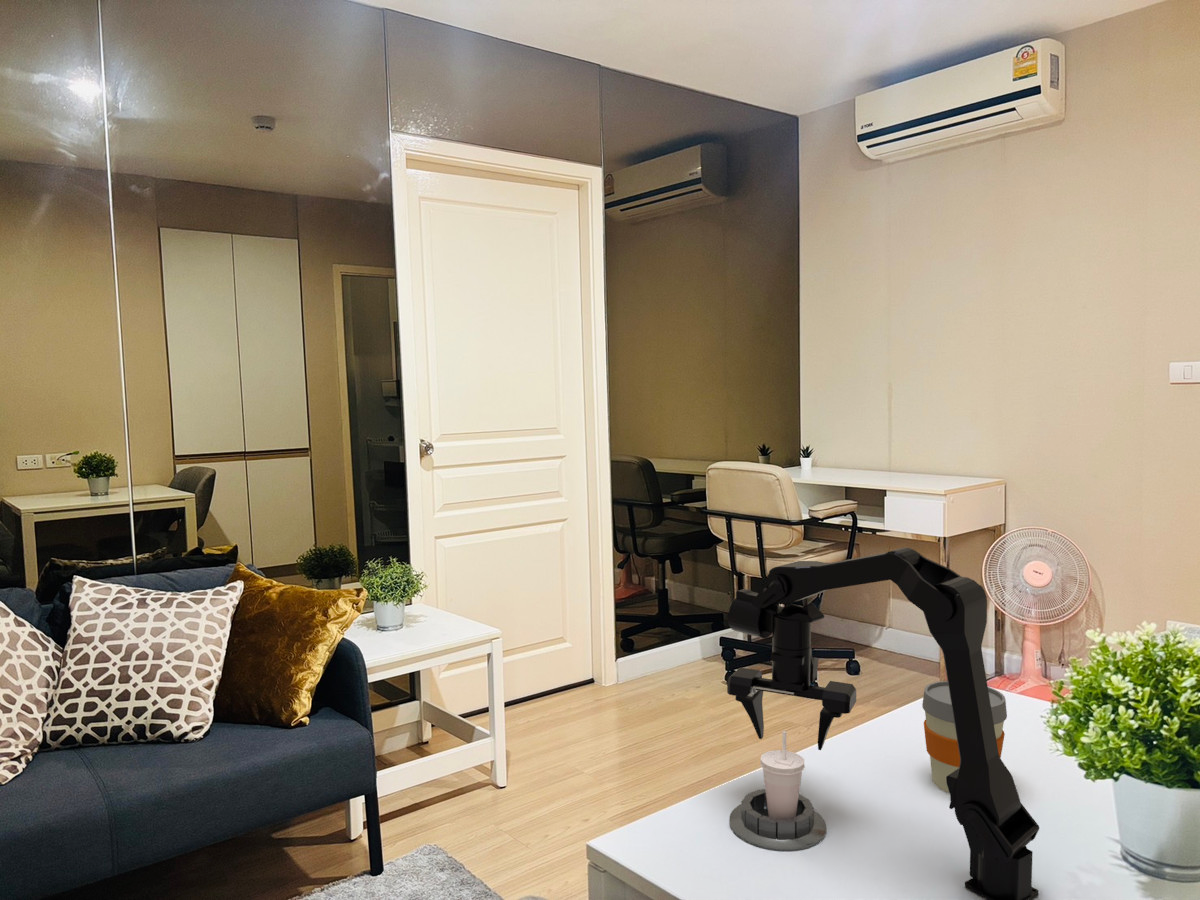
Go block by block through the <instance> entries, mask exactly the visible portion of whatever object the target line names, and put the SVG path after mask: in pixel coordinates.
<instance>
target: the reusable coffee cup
mask: <svg viewBox="0 0 1200 900" xmlns="http://www.w3.org/2000/svg"><path fill="white" fill-rule="evenodd" d="M988 692H989V698H990V704H991V710H992V716H993V722H994V729H995V735H996V741H997V747H998V753H999V756H1000V759H1001V757H1002V753H1003V747H1004V741H1005V731H1004V730H1003V729H1004V722H1005V720H1007V718H1008V713H1007V712H1008V711H1007V702H1006V697H1005V695H1004V694H1003V693H1002V692H1000V691H999V690H997V689H994V688H992V687H990V686H988ZM922 709H923V711H924V713H925V714H924V715H925V719H924V721H923V729H924V738H925V746H926V752H927V753H928V755H929V759H930V768H931V777H932V783H933V782H934V783H933V784H934V785H935V787H937V788H938V789H940V790H942V791H943V792H946V793H948V794H950V793H949V790H948V786H947V781H946V777H947V776H948V775H949V774H951V773H952V772H954V771H955V770H957V769H958V768H959V765H960V754H959V748H958V742H957V736H956V730H955V723H954V717H953V711H952V705H951V699H950V692H949V686H948V680H940V681H936V682H931V683H929V684H927V685H925V687H924V690H923V698H922ZM1001 760H1002V759H1001Z"/></svg>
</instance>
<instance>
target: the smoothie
mask: <svg viewBox="0 0 1200 900" xmlns="http://www.w3.org/2000/svg"><path fill="white" fill-rule="evenodd" d="M760 767H761V768H762V773H763V782H764V787H765V788H764V789H765V791H766V799H767V807H768V815H769V817H772V818H776V819H784V818H793V817H796V812H797V804H798V797H799V794H800V791H801V790H800V788H801V781H802V775H803V771H805V767H806V766H805V759H804V758H803V756H801V755H800V754H798V753H796V752H793V751H789V750H787V731H786V730H783V731H782V749H776V750H769V751H765V752H764V753H762V754H761V756H760Z"/></svg>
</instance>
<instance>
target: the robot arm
mask: <svg viewBox="0 0 1200 900" xmlns="http://www.w3.org/2000/svg"><path fill="white" fill-rule="evenodd" d="M884 581H891V582H893V583H894V584H895V585H896V586H897V587H898V588H899V590H900V591H901V592H902V594H903V595H904V597H905V598H906V599H907V600H908V601H909V602H910V603H911V604H912V605H914V606H915V607H917V608H919V610H920V611H922V612H923V615H924V619H925V621H926V624H927V628H928V631H929V633H930V635H931V636H932V637H933V639H934V640H935V642H936V643H937V644H938V646H939V648H940V649H941V651H942V654H943V660H944V665H945V673H946V678H947V680H946V681H948V686H949V692H950V699H951V705H952V711H953V717H954V723H955V730H956V736H957V742H958V748H959V754H960V765H959V768H958V769H957V770H955V771H954V772H952V773H951V774H949V775H948V776H947V777H946V781H947V786H948V790H949V793H948V794H949V797H950V801H949V810H953V809H954V814H955V819H956V820H957V822H958V824H959V825H960V826H962V828H963V830H964V833H965V837H966V838H965V839H966V840H967V843H968V846H969V876H970V879H968V880H966V881H964V887H965V888H966V889H967V890H970V891H971V892H973V893H975V894H977V895H979V896H981V897H982V898H984V899H987V900H1032V899H1035V898H1036V897H1038V896H1039V890H1038V889H1036V888H1035V887H1033V886H1032V885H1033V884H1032V883H1033V882H1032V879H1033V850H1030V849H1028V846H1027V845H1028V844H1030V843H1031V841H1034V840H1035V839H1036V836H1037V835H1038V832H1039V831H1040V826H1039V824H1038V823H1037V822H1036V820H1035V819H1034V818H1033V816H1032V815H1031V814H1030V813H1029V811H1028V810H1027V809H1026V807H1025V806H1024V804H1022V802H1021V799H1020V796H1019V793H1018V789H1017V786H1016V783H1015V780H1014V777H1013V775H1012V774H1011V772H1010V770H1009V769H1008V768H1007V766H1006V765H1005V763H1004V761H1002V759H1000V756H999V753H998V747H997V741H996V735H995V729H994V722H993V716H992V710H991V704H990V698H989V692H988V687H989V686H988V680H987V675H986V674H987V673H986V669H985V663H984V657H983V651H982V650H983V649H982V645H983V641H984V636H985V632H986V629H987V628H986V627H987V623H988V622H987V621H988V596H987V594H986V591H985V589H984V587H983V586H982V585H981V584H979V583H978V582H977V581H975V580H974V579H971V578H969V577H967V576H961V575H960V574H958V573H957V572H956V571H954V570H953V569H951V568H949V567H947V566H945V565H942V564H940V563H938V562H936V561H934V560H932V559H929V558H927V557H925V556H924V555H922V554H921V553H920V552H918V551H916V550H915V549H913V548H911V547H900V548H898V549H894V550H890V551H888V552H883V553H877V554H872V555H866V556H860V557H856V558H851V559H850V558H849V559H845V560H839V561H833V562H822V561H818V560H798V561H794V562H789V563H786V564H781V565H778V566H775V567H772V568H770V570H769V571H768V574H767V577H766V582H765V584H764V586H762V588H761V590H760V591H759V592H756V591H755V592H754V591H752V590H750V589H746V588H743V589H740V590H736V591H735V598H734V599H733V601H732V603H731V604H730V607H729V608H728V609H729V610H728V611H727V623H728V626H729V627H730V629H731V630H733V631H736V632H738V633H742V634H745V635H750V636H753V637H757V638H761V639H766V638H768V637H770V636H771V635H772V649H771V651H772V652H771V653H770V661H771V665H772V666H771V668H772V669H771V678H765V677H763V674H762V671H761V669H755V668H754V669H753V668H748V667H741V666H740V667H739V668H738V669H736V670H735V671H734V672H733V674H731V675H730V676H729V677H728V679H727V683H726V685H727V687H726V689H727V690H726V693H727V694H728V695H729V696H735V702H736V701H737V702H740V703H741V704H742V706H743V708H744V710H745V712H746V713H747V715H748V718H749V719H750V722H751V723H752V726H753V728H754V730H755V732H756V734H757V737H758V739H759V740H762V739H764V731H765V729H764V728H765V725H764V710H763V709H764V707H763V697H764V692H767V693H773V694H779V695H785V696H787V695H788V696H792V697H799V698H804V699H811V700H816V701H821V706H823V707H822V708H821V710H820V712H819V720H818V721H819V722H818V730H817V731H818V732H817V733H818V734H817V750H818V751H822V749H823V747H824V744H825V743H826V742H825V741H826V739H827V736H828V732H829V731H830V727H831V726H832V722H833V720H834V718H835V719H839V718H841V717H842V715H843V714H844V715H847V714H851V711H852V709H853V708H854V706H855V704H856V703H857V688H856V687H855V686H854V684H853V683H848V682H842V681H841V682H840V681H833V680H829V682H828V683H827V685H826V686H825V687H822V686H816V685H811V683H814V682H815V680H816V679H817V678H818V666H819V658H818V657H815V656H813V650H812V647H811V646H812V643H811V641H812V640H811V639H812V637H811V636H812V623H814V622H817V621H820V620H823V619H824V618H825V614H824V613H823V612H822V611H821V610H820V609H818V608H817V607H816V604H815V603H813V602H811V603H807V604H804V605H798V604H793V603H796V602H799V601H801V600H805V599H808V598H811V597H814V596H816V595H818V594H821V593H824V592H827V591H829V590H835V589H840V588H846V587H852V586H853V587H854V586H858V585H866V584H870V583H871V584H872V583H879V582H884ZM781 605H785V606H781Z"/></svg>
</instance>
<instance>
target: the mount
mask: <svg viewBox="0 0 1200 900" xmlns="http://www.w3.org/2000/svg"><path fill="white" fill-rule="evenodd" d="M729 827H730V829H731V831H732V832H733V834H734V835H735V836H736V837H738V838H739V839H741V840H742V841H744V842H745V843H747V844H750V845H752V846H755V847H758V848H761V849H765V850H768V851H769V850H771V851H776V852H777V851H778V852H794V851H801V850H806V849H809V848H812V846H813V847H814V846H817V845H818V844H820V843H821V842H822V841H823V840H824V839H825V837H826V834H827V822H826V821H825V819H824V818H823V816H822V815H821V814H820V813H819V812H818V811H816V810H815V807H814V805H813V804H812V802H811V800H810V799H809V798H807V797H805V796H803V795H802V794H800V793H799V797H798V804H797V812H796V817H793V818H784V819H776V818H772V817H769V815H768V807H767V799H766V791H765V788H761V789H757V790H755V791H752V792H748V793H747V794H745V796H744V798H742V801H741V804H739V805H737V806H736V807H734V809H733V810H732V811H731V812H730V815H729ZM820 841H821V842H820ZM819 842H820V843H819ZM816 844H817V845H816Z"/></svg>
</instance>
